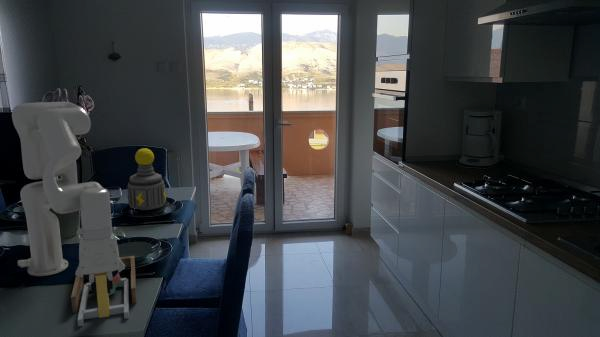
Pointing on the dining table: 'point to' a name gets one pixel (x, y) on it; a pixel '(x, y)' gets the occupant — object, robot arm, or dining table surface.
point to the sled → (103, 300)
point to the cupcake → (115, 282)
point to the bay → (79, 280)
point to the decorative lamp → (146, 184)
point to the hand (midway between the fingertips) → (102, 292)
